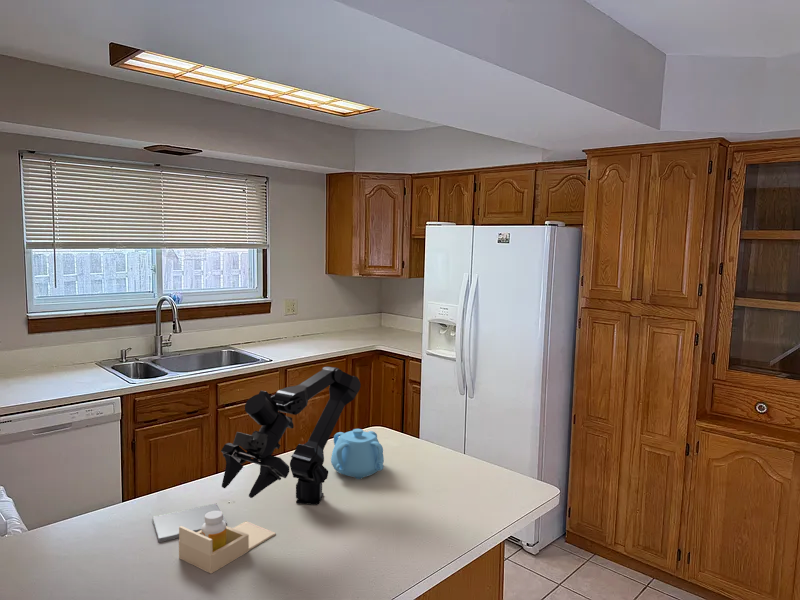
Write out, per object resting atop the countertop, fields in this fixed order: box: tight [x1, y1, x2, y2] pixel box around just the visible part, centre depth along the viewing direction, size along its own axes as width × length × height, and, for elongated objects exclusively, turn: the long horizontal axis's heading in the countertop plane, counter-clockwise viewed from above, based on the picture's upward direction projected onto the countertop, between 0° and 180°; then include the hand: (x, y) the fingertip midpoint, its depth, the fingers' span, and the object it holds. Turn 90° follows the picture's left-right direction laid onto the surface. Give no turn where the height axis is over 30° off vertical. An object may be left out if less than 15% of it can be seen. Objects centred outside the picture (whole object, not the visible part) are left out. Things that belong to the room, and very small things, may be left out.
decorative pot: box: [330, 428, 385, 480], centre depth 178 cm, size 16×16×14 cm
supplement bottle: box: [202, 510, 226, 552], centre depth 130 cm, size 5×5×10 cm
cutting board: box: [152, 503, 228, 543], centre depth 144 cm, size 16×12×1 cm
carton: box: [178, 521, 276, 574], centre depth 133 cm, size 20×11×8 cm, turn 148°
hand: (236, 492), depth 134 cm, fingers open, 9 cm apart
